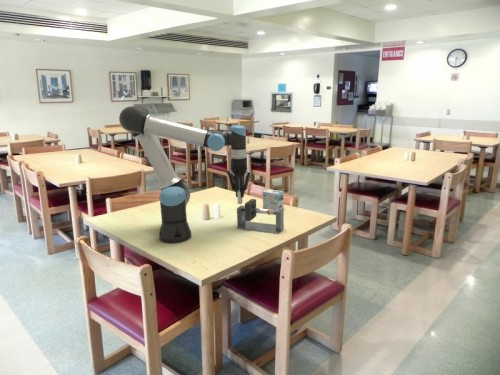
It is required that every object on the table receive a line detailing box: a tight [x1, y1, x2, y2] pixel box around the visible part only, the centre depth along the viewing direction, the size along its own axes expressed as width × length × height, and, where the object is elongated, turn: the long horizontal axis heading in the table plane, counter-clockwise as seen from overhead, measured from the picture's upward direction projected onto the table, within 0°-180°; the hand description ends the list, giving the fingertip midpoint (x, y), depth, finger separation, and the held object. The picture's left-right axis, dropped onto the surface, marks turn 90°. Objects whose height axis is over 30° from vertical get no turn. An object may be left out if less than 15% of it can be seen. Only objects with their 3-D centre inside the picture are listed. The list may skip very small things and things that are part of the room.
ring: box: [244, 198, 257, 222], centre depth 187 cm, size 2×9×9 cm, turn 158°
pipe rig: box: [236, 205, 285, 235], centre depth 187 cm, size 23×10×10 cm, turn 68°
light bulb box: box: [262, 188, 285, 210], centre depth 218 cm, size 11×7×11 cm, turn 58°
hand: (240, 203), depth 189 cm, fingers closed
